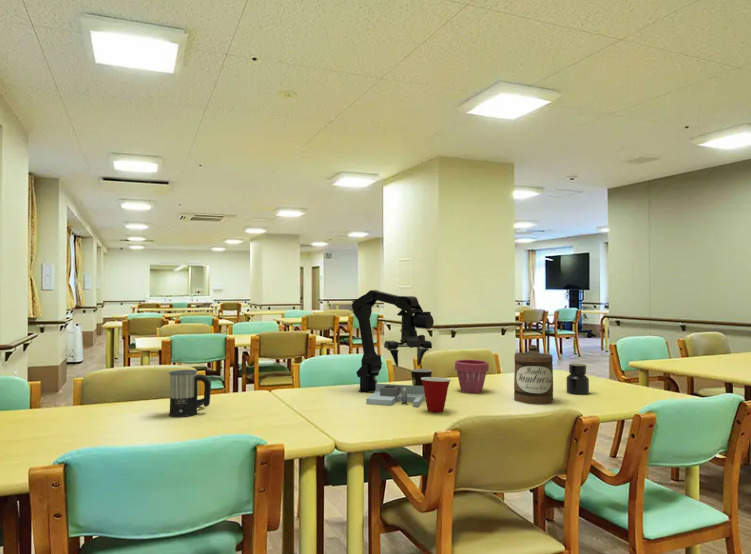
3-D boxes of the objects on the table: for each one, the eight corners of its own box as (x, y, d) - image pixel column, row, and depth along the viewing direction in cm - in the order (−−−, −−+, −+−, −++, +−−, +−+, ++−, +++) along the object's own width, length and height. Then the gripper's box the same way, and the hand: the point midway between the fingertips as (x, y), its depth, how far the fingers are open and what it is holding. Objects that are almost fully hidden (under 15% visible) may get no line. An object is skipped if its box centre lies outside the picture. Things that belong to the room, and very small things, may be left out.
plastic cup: (454, 409, 194) (454, 376, 194) (445, 415, 184) (445, 381, 184) (426, 406, 199) (426, 374, 199) (416, 412, 189) (416, 378, 189)
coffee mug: (432, 396, 216) (432, 372, 216) (411, 396, 216) (411, 372, 216) (430, 391, 228) (430, 367, 228) (410, 391, 228) (410, 367, 228)
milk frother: (169, 418, 177) (170, 374, 178) (164, 409, 191) (165, 367, 192) (213, 414, 184) (214, 371, 184) (205, 405, 198) (206, 365, 198)
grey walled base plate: (366, 404, 202) (366, 390, 202) (376, 395, 217) (376, 383, 217) (418, 407, 197) (418, 393, 197) (424, 398, 212) (425, 386, 213)
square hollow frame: (380, 395, 208) (380, 388, 208) (383, 392, 214) (383, 385, 214) (396, 396, 206) (396, 388, 206) (399, 393, 212) (399, 386, 212)
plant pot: (493, 390, 231) (493, 360, 231) (481, 395, 219) (481, 364, 219) (462, 387, 239) (462, 358, 239) (449, 392, 227) (449, 361, 227)
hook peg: (401, 404, 202) (401, 388, 202) (402, 403, 204) (402, 387, 204) (406, 404, 201) (406, 388, 201) (407, 403, 203) (407, 387, 203)
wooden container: (515, 403, 205) (516, 346, 205) (512, 395, 220) (512, 342, 220) (556, 405, 203) (556, 347, 203) (549, 397, 217) (549, 343, 218)
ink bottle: (594, 393, 225) (594, 365, 226) (581, 396, 220) (581, 367, 221) (574, 390, 233) (574, 362, 234) (561, 392, 228) (561, 364, 229)
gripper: (393, 329, 204) (392, 370, 204) (438, 329, 210) (437, 368, 210) (384, 326, 215) (383, 365, 215) (426, 326, 220) (426, 364, 220)
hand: (407, 366), depth 215 cm, fingers open, 9 cm apart
